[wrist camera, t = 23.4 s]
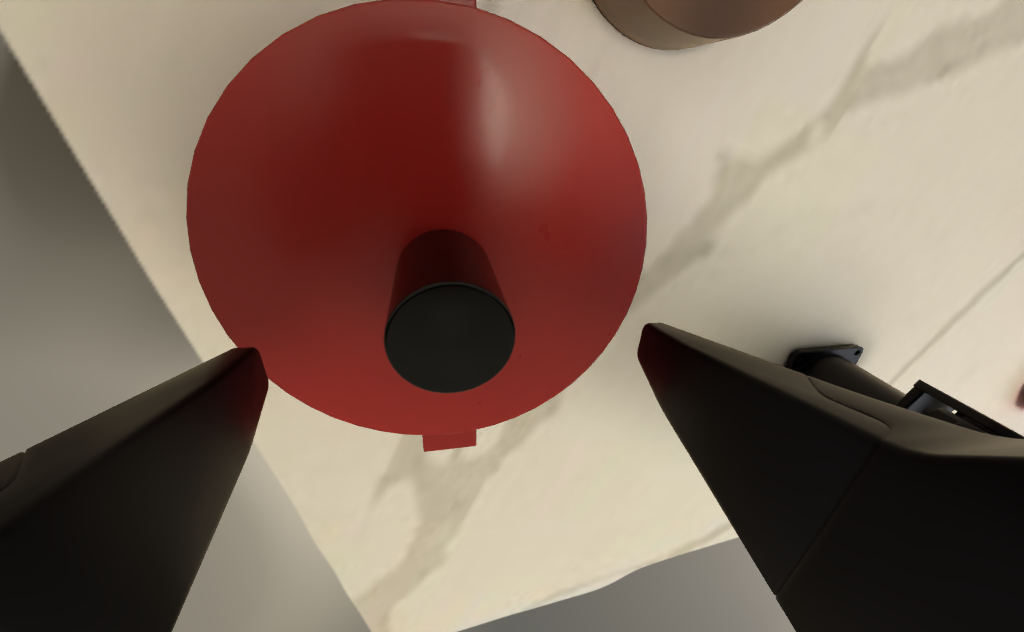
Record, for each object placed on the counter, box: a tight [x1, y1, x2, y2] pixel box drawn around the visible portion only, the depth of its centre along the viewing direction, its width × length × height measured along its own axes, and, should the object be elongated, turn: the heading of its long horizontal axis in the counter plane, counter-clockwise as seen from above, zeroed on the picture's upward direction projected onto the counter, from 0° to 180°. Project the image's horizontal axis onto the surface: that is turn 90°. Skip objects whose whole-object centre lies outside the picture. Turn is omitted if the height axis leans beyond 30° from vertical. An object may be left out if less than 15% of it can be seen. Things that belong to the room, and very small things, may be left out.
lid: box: [186, 0, 647, 435], centre depth 11 cm, size 14×14×5 cm
